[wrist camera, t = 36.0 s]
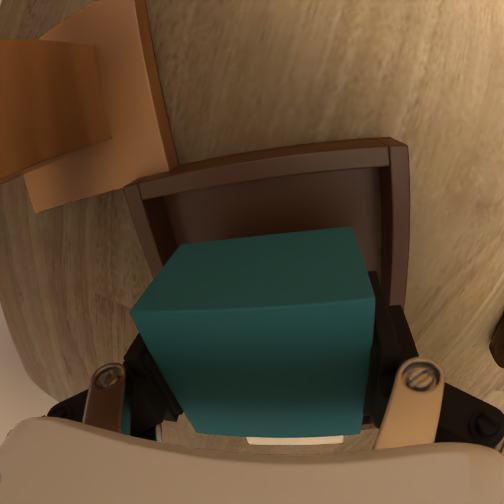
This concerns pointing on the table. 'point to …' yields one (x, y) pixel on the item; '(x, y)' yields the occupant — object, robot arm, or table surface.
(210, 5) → the table surface
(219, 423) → the teal square block
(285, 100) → the table surface
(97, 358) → the table surface
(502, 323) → the hand tool
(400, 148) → the dark brown rectangular tray
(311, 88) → the table surface
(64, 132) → the stand
